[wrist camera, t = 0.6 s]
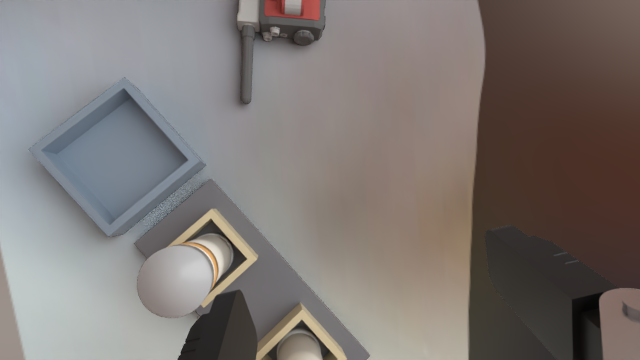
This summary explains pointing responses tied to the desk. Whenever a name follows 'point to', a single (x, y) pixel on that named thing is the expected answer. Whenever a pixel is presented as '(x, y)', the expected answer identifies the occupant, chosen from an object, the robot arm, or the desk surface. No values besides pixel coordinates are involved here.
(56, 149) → the tray
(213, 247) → the cylinder
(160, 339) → the desk surface
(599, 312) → the robot arm
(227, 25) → the desk surface
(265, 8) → the walkie-talkie
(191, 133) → the desk surface
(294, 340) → the cylinder
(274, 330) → the fuse block
